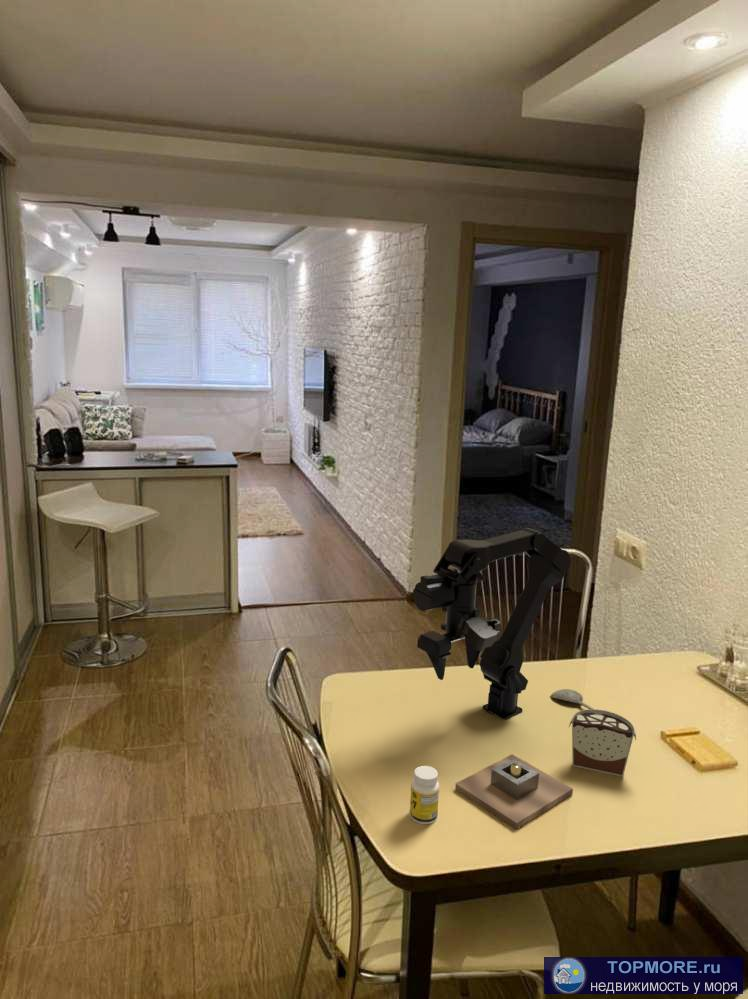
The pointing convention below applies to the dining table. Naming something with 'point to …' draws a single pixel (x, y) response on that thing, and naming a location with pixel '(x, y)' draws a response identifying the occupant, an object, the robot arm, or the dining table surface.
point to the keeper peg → (515, 770)
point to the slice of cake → (601, 741)
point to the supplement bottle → (424, 795)
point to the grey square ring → (514, 779)
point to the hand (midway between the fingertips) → (456, 673)
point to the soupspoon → (570, 696)
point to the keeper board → (508, 807)
